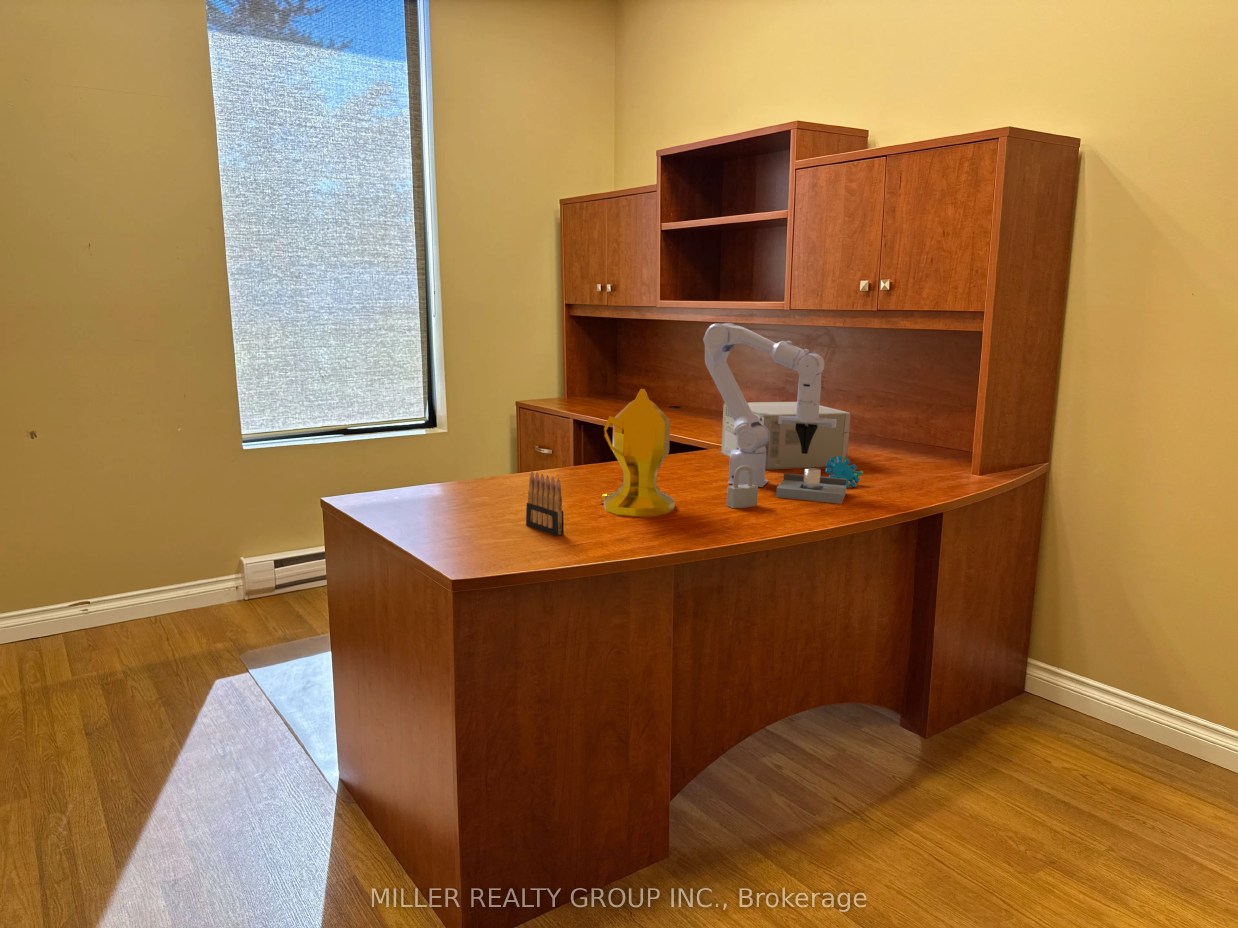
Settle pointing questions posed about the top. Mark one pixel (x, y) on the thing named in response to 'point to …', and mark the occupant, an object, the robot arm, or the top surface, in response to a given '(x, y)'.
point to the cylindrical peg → (811, 478)
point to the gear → (843, 471)
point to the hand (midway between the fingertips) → (804, 453)
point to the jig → (828, 489)
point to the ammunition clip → (545, 505)
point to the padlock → (742, 491)
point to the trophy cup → (639, 459)
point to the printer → (792, 436)
